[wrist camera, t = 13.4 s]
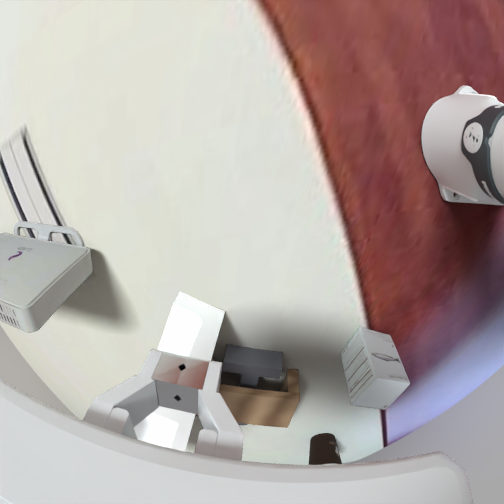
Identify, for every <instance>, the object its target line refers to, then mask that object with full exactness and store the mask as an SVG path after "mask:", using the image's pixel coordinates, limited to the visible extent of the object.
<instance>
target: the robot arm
mask: <svg viewBox="0 0 504 504" xmlns="http://www.w3.org/2000/svg"><path fill="white" fill-rule="evenodd" d="M421 139H422V149H423V154H424V158H425V160H426V163H427V165H428V167H429V169H430V171H431V172H432V174H433V175H434V177H435V178H436V180H437V182H438V185H439V189H440V193H441V196H442V198H443V199H444V200H445V201H448V202H462V203H478V204H492V205H504V104H503V103H501V102H499V101H498V100H497V99H496V97H494V96H491V95H482V94H478V93H477V92H476V91H475V90H473V89H472V88H471V87H469V86H461V87H460V88H459V89H458V90H457V91H456V92H455V93H454V94H453V95H450V96H446V97H443V98H441V99H439V100H438V101H436V102H435V103H434V104H433V105H432V106H431V108H430V109H429V111H428V112H427V114H426V116H425V119H424V122H423V127H422V137H421ZM454 192H455V195H454V196H453V194H454ZM221 372H222V362H216V361H210V360H204V359H198V358H193V357H186V356H182V355H177V354H173V353H169V352H165V351H160V350H156V349H152V350H151V351H150V352H149V355H148V357H147V359H146V361H145V363H144V365H143V367H142V370H141V372H140V374H139V376H138V375H135V376H133V377H131V378H129V379H128V380H126V381H124V382H122V383H121V384H119V385H117V386H115V387H114V388H112V389H110V390H108V391H107V392H105V393H103V394H101V395H99V396H98V397H96V398H94V399H93V401H92V403H91V405H90V407H89V409H88V411H87V413H86V415H85V417H84V419H83V420H80V419H78V418H76V417H73V416H71V415H69V414H66V413H64V412H62V411H59V410H58V409H55V408H53V407H51V406H49V405H47V404H45V403H43V402H41V401H39V400H37V399H35V398H33V397H31V396H29V395H28V394H25V393H24V392H22V391H20V390H18V389H17V388H15V387H13V386H11V385H10V384H8V383H7V382H5V381H3V380H2V379H0V504H473V499H472V494H471V489H470V485H469V482H468V478H467V475H466V472H465V470H464V469H463V468H462V467H461V466H460V465H459V464H458V463H457V462H456V461H454V460H453V459H452V458H450V457H449V456H448V455H446V454H445V453H443V452H432V453H427V454H422V455H417V456H411V457H405V458H399V459H393V460H385V461H376V462H366V463H354V464H334V465H291V464H271V463H259V462H248V461H242V451H243V441H244V433H243V432H242V430H241V429H240V427H239V425H238V424H237V422H236V420H235V418H234V417H233V415H232V413H231V412H230V410H229V408H228V406H227V405H226V403H225V401H224V399H223V398H222V396H221V394H220V393H219V388H220V381H221ZM159 406H161V407H165V408H170V409H175V410H180V411H184V412H188V413H193V414H197V415H198V416H199V419H200V421H201V423H202V426H203V428H204V429H202V430H200V431H199V436H198V440H197V444H196V448H195V453H190V452H185V451H180V450H176V449H171V448H167V447H163V446H159V445H155V444H152V443H148V442H144V441H141V440H138V439H137V436H136V433H135V430H134V427H135V426H136V425H137V424H139V423H140V422H141V421H142V420H144V419H145V418H146V417H147V416H149V415H150V414H151V413H152V412H154V411H155V410H156V409H157V408H159Z"/></svg>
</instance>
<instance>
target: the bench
mask: <svg viewBox="0 0 504 504" xmlns="http://www.w3.org/2000/svg"><path fill="white" fill-rule="evenodd" d="M211 361H214V359H213V358H211ZM219 393H220V394H221V396H222V398H223V399H224V401H225V403H226V405H227V406H228V408H229V410H230V412H231V413H232V415H233V417H234V418H235V420H236V422H237V423H245V424H253V425H262V426H273V427H286V428H287V427H288V425H289V423H290V421H291V419H292V416H293V414H294V412H295V410H296V408H297V405H298V403H299V401H300V393H299V378H298V370H297V369H287V372H286V375H285V378H284V381H283V384H282V387H281V390H280V392H278V391H269V390H260V389H252V388H244V387H237V386H230V385H224V384H220V388H219ZM196 416H198V415H197V414H196Z"/></svg>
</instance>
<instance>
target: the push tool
mask: <svg viewBox="0 0 504 504" xmlns="http://www.w3.org/2000/svg"><path fill="white" fill-rule="evenodd" d="M222 371H225V372H231V373H238V374H241V379H240V384H239V387H244V388H252V389H256V387H257V383H258V379H259V376H260V377H268V378H276V379H279V378H280V375H281V372H282V352H276V351H268V350H261V349H253V348H246V347H240V346H233V345H227V346H226V351H225V356H224V362H223V370H222Z"/></svg>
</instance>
